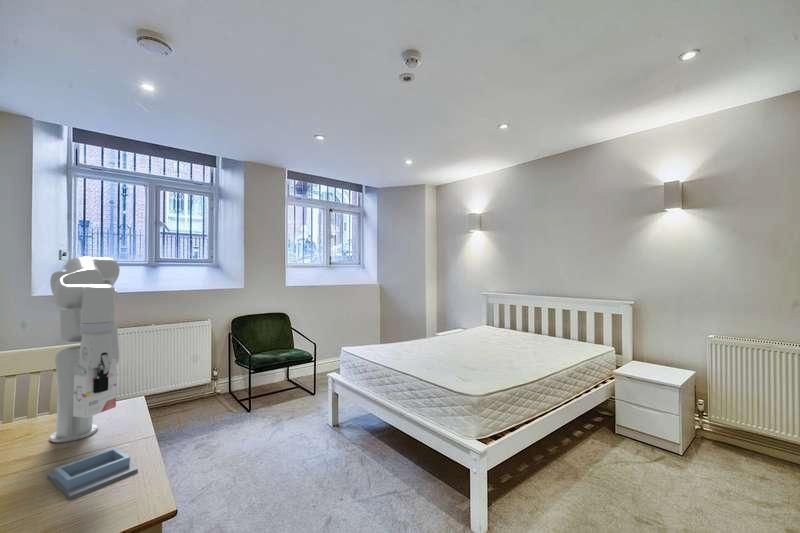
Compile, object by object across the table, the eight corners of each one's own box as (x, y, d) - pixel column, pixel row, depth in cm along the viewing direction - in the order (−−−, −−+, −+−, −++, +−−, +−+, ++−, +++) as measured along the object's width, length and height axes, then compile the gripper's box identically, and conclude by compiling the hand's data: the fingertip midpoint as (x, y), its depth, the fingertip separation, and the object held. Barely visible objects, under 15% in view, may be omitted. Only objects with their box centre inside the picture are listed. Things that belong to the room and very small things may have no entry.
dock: (47, 477, 99) (47, 465, 99) (111, 454, 112) (112, 443, 112) (70, 499, 90) (70, 486, 90) (137, 471, 103) (137, 460, 103)
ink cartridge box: (103, 405, 106) (105, 357, 106) (116, 407, 105) (118, 358, 105) (71, 416, 98) (73, 364, 98) (84, 418, 97) (87, 365, 97)
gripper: (70, 326, 103) (68, 387, 103) (93, 332, 94) (91, 399, 94) (101, 323, 110) (99, 381, 109) (126, 329, 101) (124, 391, 100)
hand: (95, 388), depth 102 cm, fingers closed on ink cartridge box, 6 cm apart
